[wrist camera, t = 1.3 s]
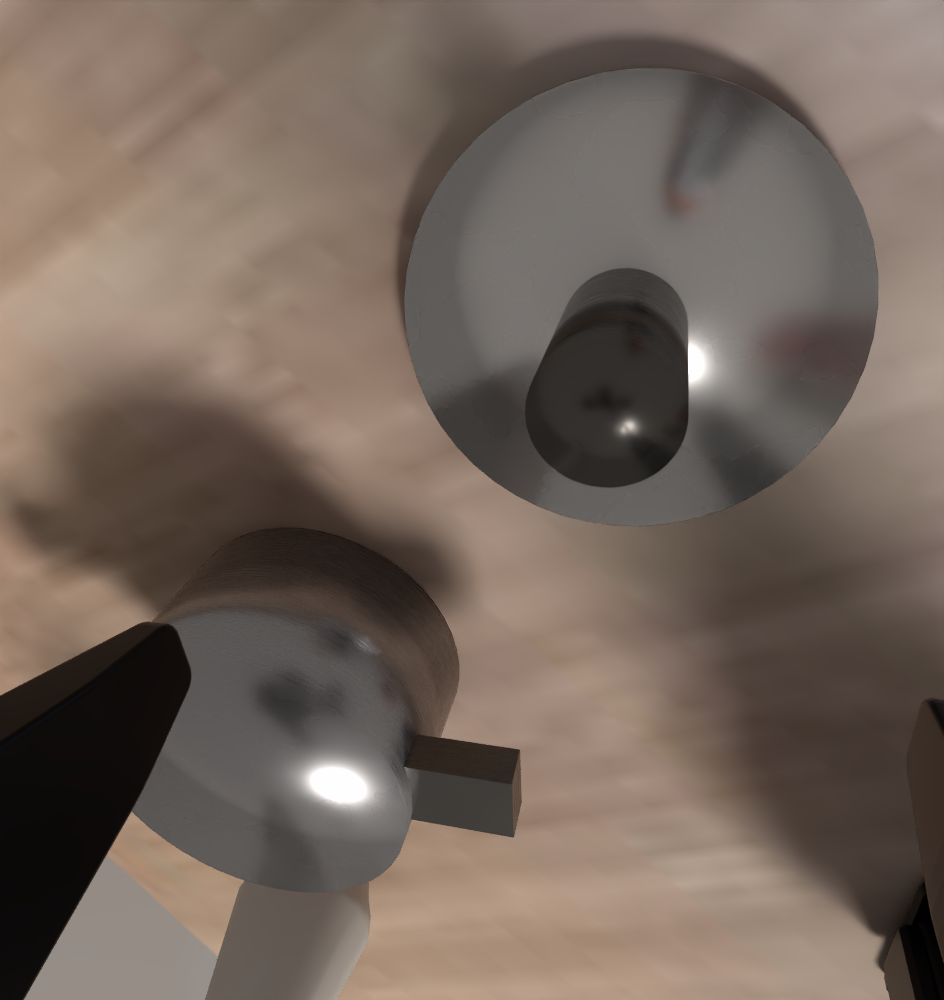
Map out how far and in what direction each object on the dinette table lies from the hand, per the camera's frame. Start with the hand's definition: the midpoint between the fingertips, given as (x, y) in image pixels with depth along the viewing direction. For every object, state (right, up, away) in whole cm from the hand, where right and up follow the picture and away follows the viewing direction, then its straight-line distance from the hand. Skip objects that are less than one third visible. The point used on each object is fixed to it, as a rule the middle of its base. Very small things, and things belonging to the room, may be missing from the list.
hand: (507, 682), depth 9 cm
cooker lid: (+3, +7, +10) cm, 13 cm away
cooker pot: (-6, -3, +18) cm, 19 cm away
